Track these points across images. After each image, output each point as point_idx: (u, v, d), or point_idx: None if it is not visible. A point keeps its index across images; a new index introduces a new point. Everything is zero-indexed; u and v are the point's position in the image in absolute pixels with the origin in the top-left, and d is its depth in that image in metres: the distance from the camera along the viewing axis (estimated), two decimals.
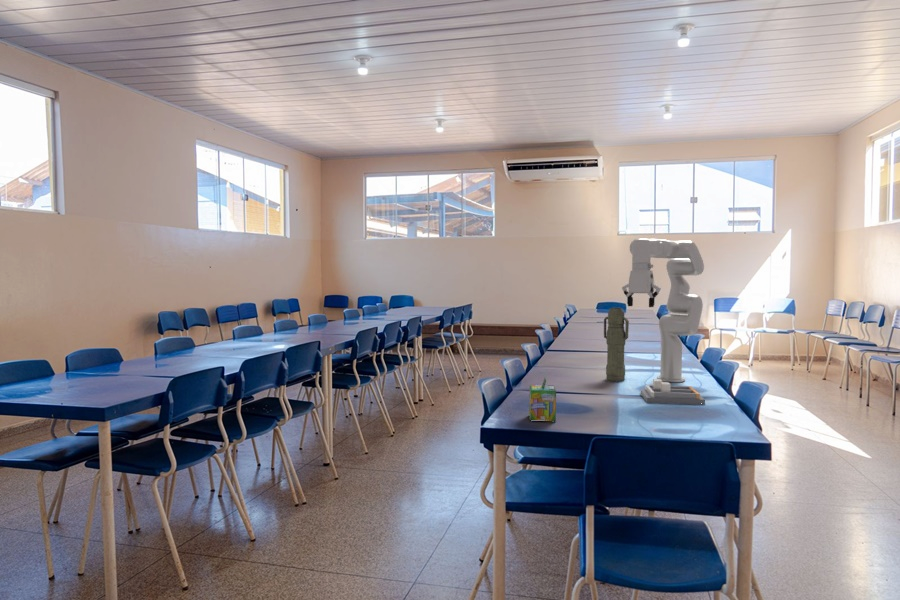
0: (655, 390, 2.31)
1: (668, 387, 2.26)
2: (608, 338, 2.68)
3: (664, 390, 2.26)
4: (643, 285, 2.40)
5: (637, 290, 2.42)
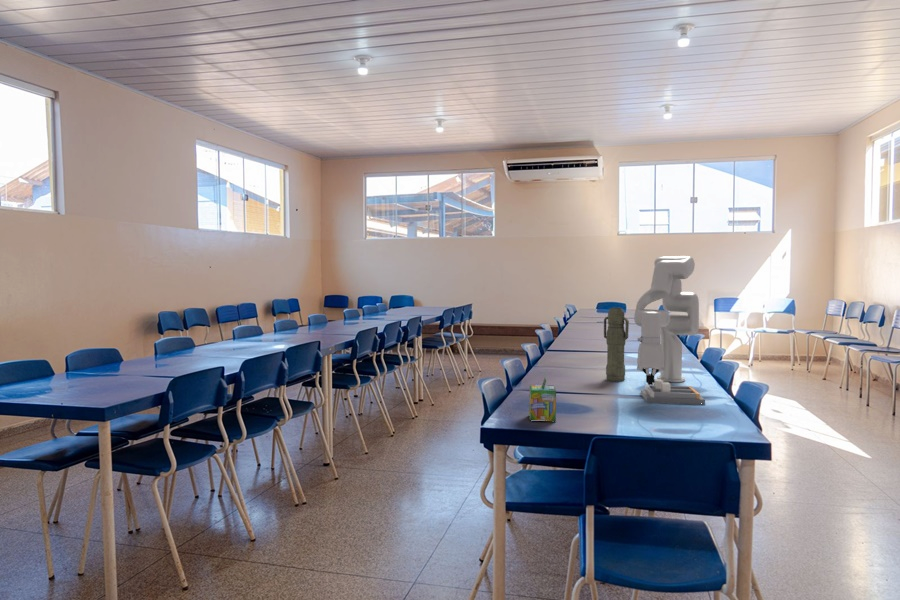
0: (655, 390, 2.31)
1: (668, 387, 2.26)
2: (608, 338, 2.68)
3: (664, 390, 2.26)
4: None
5: None
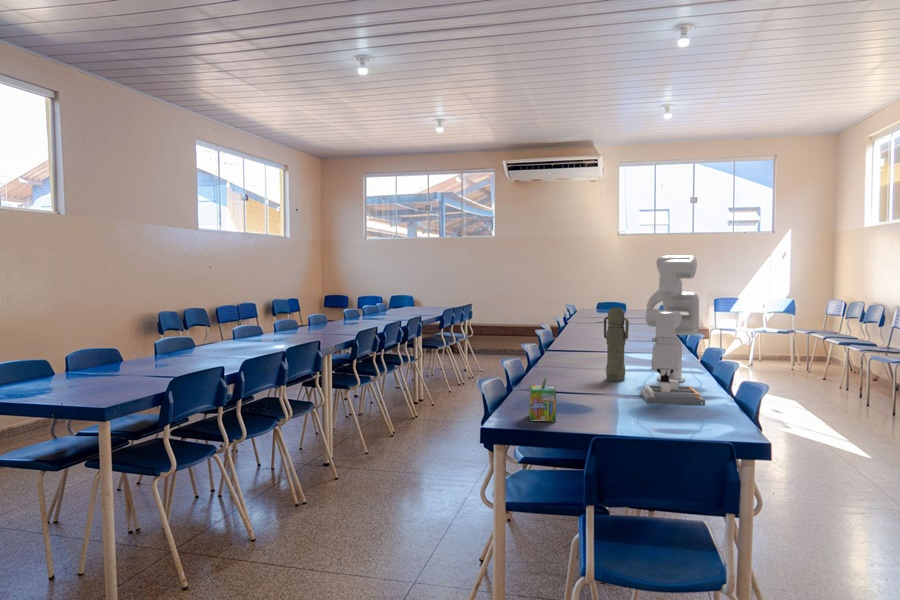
0: (655, 390, 2.31)
1: (668, 387, 2.26)
2: (608, 338, 2.68)
3: (664, 390, 2.26)
4: None
5: None
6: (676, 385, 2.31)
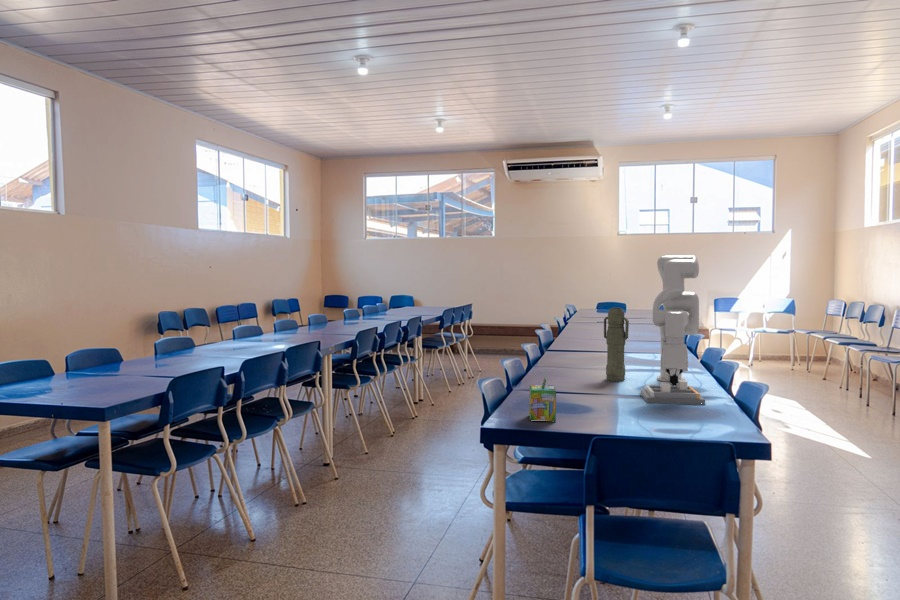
0: (655, 390, 2.31)
1: (668, 387, 2.26)
2: (608, 338, 2.68)
3: (664, 390, 2.26)
4: None
5: None
6: (685, 385, 2.30)
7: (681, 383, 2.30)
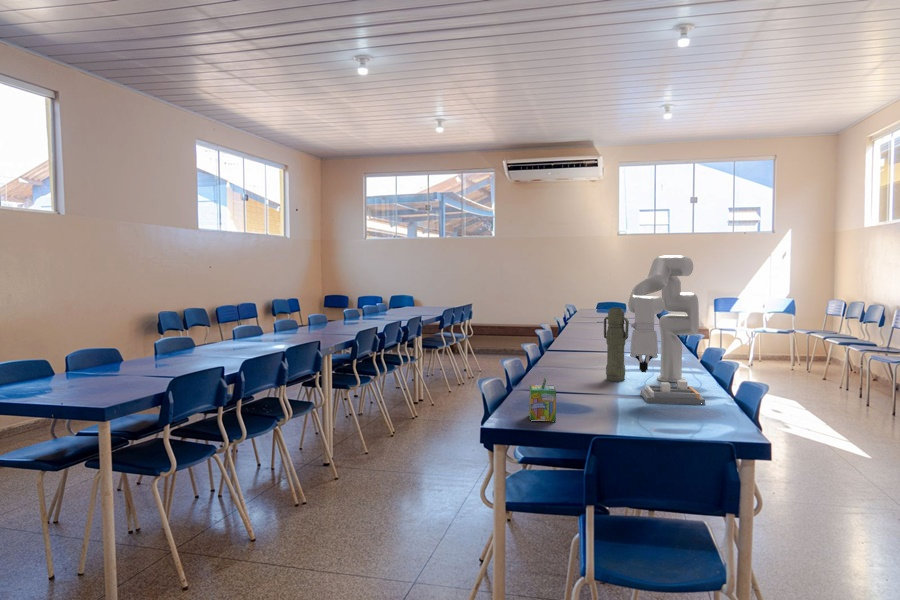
0: (655, 390, 2.31)
1: (668, 387, 2.26)
2: (608, 338, 2.68)
3: (664, 390, 2.26)
4: None
5: None
6: (685, 385, 2.30)
7: (681, 383, 2.30)
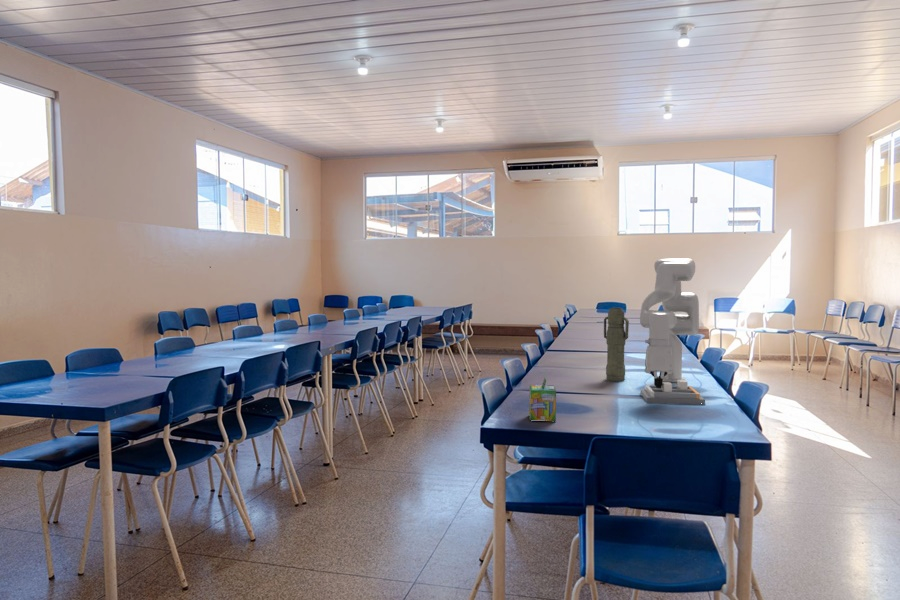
0: (655, 390, 2.31)
1: (670, 387, 2.25)
2: (608, 338, 2.68)
3: (665, 390, 2.26)
4: None
5: None
6: (685, 385, 2.30)
7: (681, 383, 2.30)
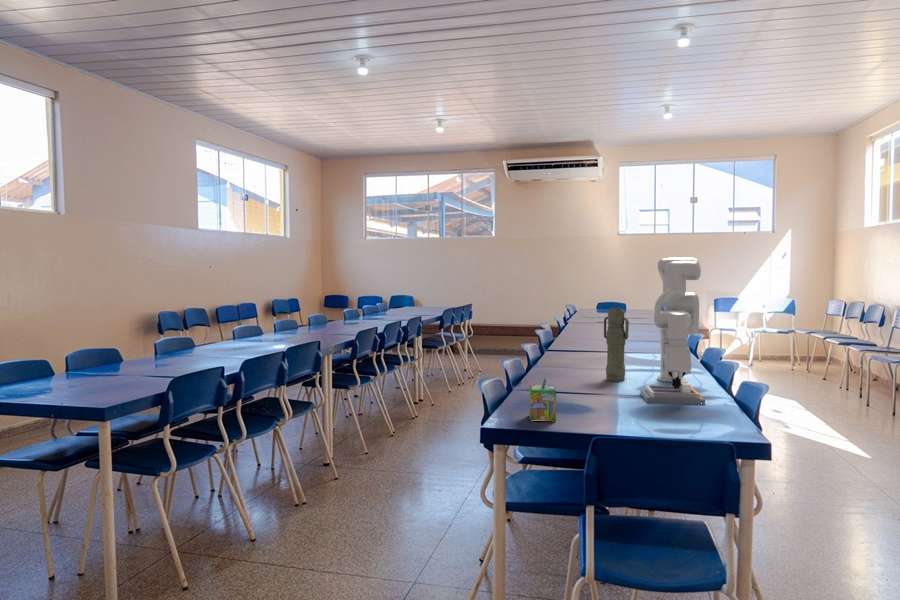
0: (655, 390, 2.31)
1: (688, 388, 2.24)
2: (608, 338, 2.68)
3: (684, 391, 2.25)
4: None
5: None
6: None
7: None
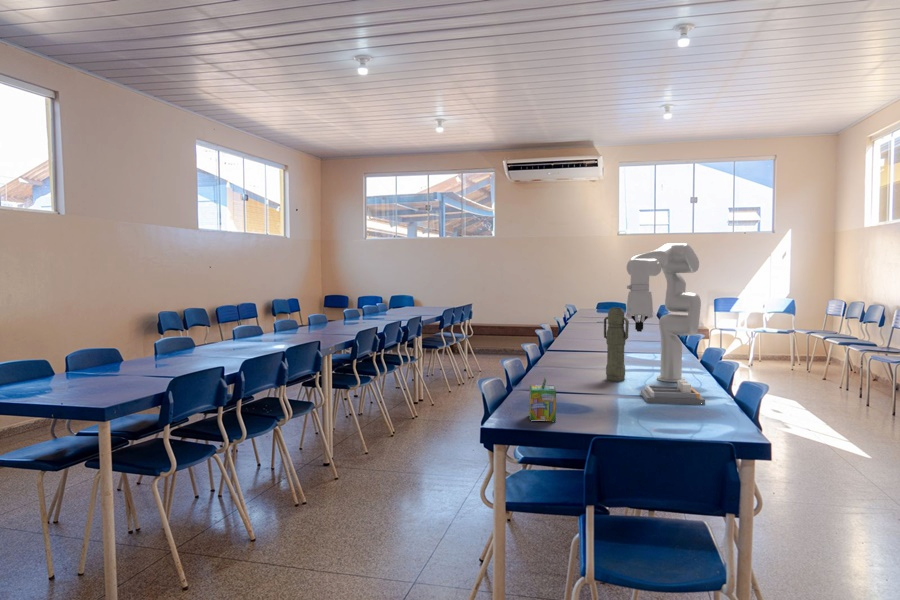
0: (655, 390, 2.31)
1: (689, 388, 2.24)
2: (608, 338, 2.68)
3: (685, 391, 2.25)
4: None
5: None
6: None
7: None
